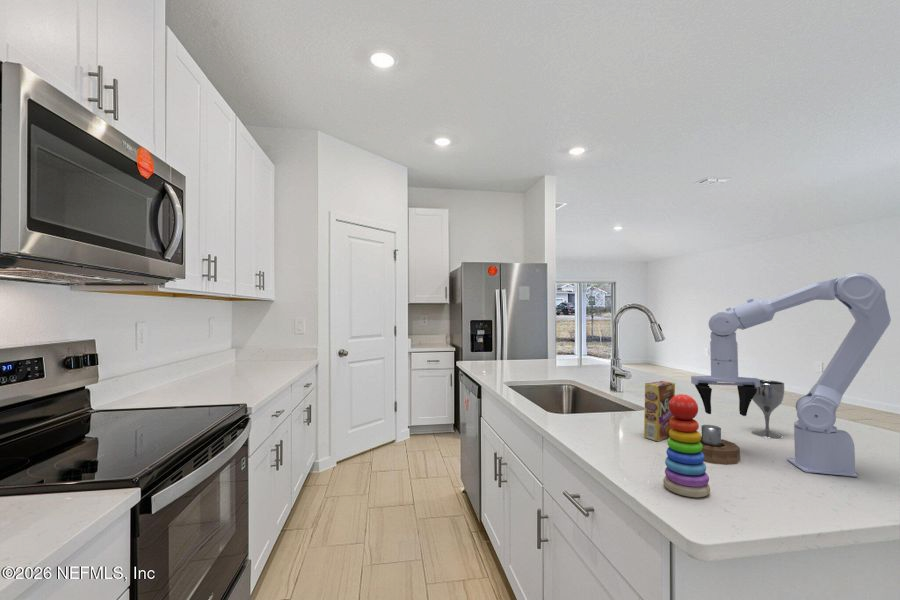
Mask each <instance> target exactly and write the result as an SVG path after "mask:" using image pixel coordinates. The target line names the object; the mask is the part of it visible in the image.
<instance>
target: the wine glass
mask: <svg viewBox="0 0 900 600" xmlns="http://www.w3.org/2000/svg"><path fill="white" fill-rule="evenodd" d="M755 388H757V392H756V394H755V395H754V397H753V398H752V400H751V401H753V403H754V404H755V405H757V407H758V408H759V409H760V410H761V411H762V414H763V416H764V417H763V418H764V422H765V428H764V430H753V431H752V432H751V433H752V435H756V436H758V437H762V438H767V437H768V439H782V438H781V437H782V436H783V435H782V434H780V433H777V432H773V431H771V430H770V417H771V414H772V413H773V412H774V410H776V409H777V408H778V407H779V406H780V405H781V404H782V402H783V400H784V396H785V383H784V382H781V381H777V380H770V379H769V380H768V379H760V387H755Z"/></svg>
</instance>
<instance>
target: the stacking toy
mask: <svg viewBox="0 0 900 600" xmlns="http://www.w3.org/2000/svg"><path fill="white" fill-rule="evenodd" d="M669 410H670V412H671V414H672V415H673V416H674V417H673V418H671V419H670V421H669V424H670V426H671V427H672V428H671V429H670V430H669V435H670V438H667V442H666V443H667V446H668V447H667V449H666V451H665V452H666V458H665V461H664V463H665V466H666V467H665V469H664V474H665V475H664V476H663V479H662V480H663V481H662V482H663V485H664V486H665V488H667V489H668V490H669V491H671V492H673V493H675V494H677V495H679V496H684V497H690V498H703V497H706V496H708V495H709V494H710V493H711V485H709V481H710V477H709V475H708V473H707V472H706V471H707V466H706V464H705V461H704V454H703V453H702V452H701V450H702V444H701V442H700V440H701V436H702V433H700V432H699V430H698V429H699V427H700V426H699V422H698V421H697V420H696V419H694V418H695V417H696V416H697V415H698V413H699V406H698V403H697V401H696V400H695V399H694V398H693V397H692V396H689V395H687V394H682V393H681V394H677V395H676V394H675V396H674V397H672V398H671V399H670V401H669Z"/></svg>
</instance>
